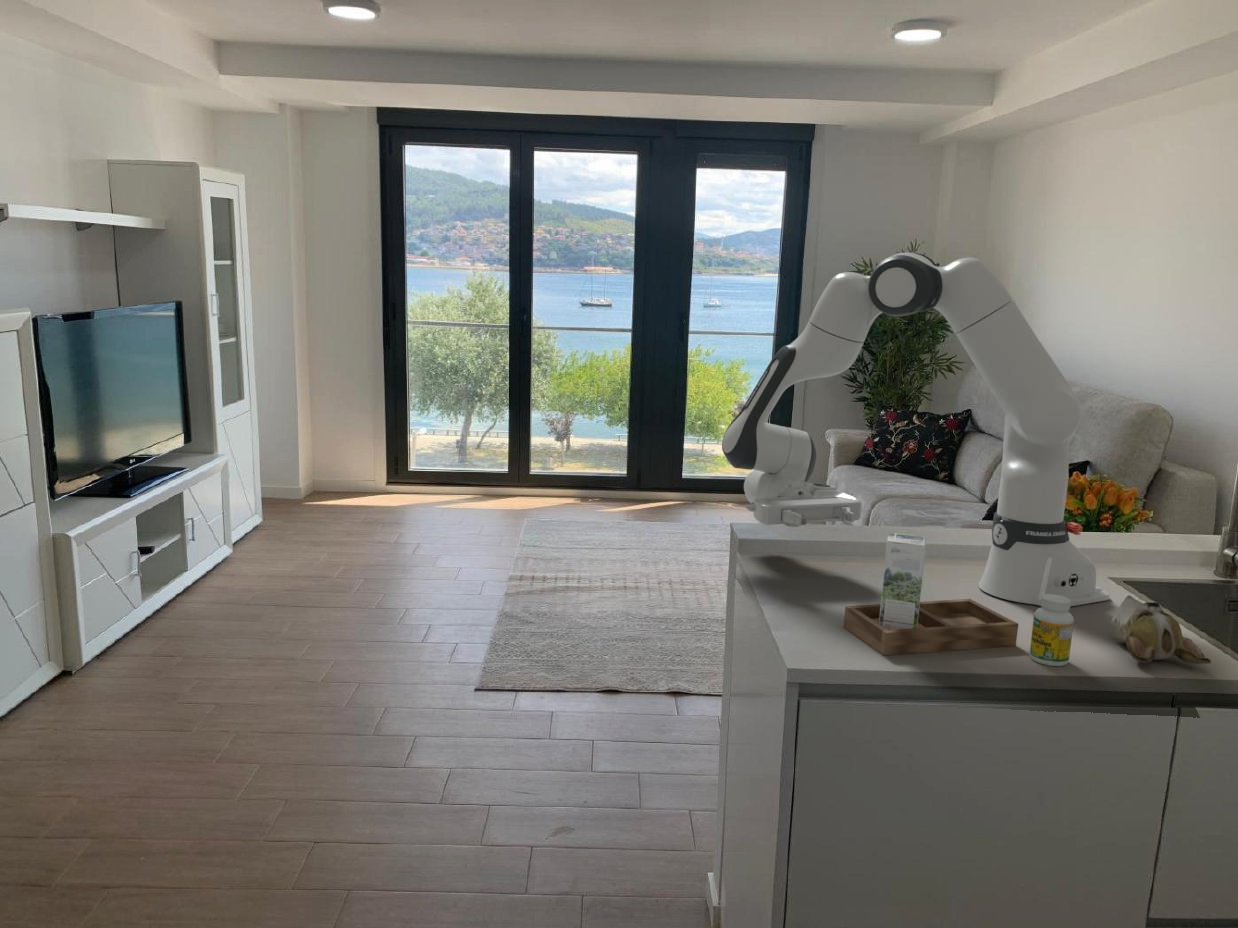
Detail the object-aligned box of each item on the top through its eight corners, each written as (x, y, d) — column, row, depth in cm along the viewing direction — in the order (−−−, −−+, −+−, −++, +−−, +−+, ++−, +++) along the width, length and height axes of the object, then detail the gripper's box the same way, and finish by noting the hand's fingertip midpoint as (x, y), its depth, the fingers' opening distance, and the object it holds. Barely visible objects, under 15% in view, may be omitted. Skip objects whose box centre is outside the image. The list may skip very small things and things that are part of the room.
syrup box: (917, 624, 150) (926, 534, 147) (916, 636, 144) (926, 544, 141) (879, 619, 151) (888, 530, 149) (877, 631, 146) (886, 539, 143)
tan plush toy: (1163, 586, 151) (1223, 624, 136) (1154, 637, 153) (1212, 680, 138) (1096, 584, 151) (1149, 623, 136) (1088, 635, 153) (1139, 678, 138)
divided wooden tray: (967, 618, 158) (970, 598, 158) (1015, 645, 147) (1018, 623, 146) (843, 626, 152) (845, 606, 151) (883, 655, 141) (885, 632, 140)
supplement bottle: (1076, 664, 140) (1085, 602, 138) (1049, 668, 138) (1057, 605, 136) (1047, 651, 145) (1055, 590, 143) (1020, 655, 143) (1028, 594, 141)
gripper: (742, 488, 180) (774, 504, 167) (840, 484, 185) (878, 499, 172) (741, 521, 181) (772, 539, 168) (838, 516, 186) (875, 533, 173)
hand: (826, 519), depth 170 cm, fingers open, 8 cm apart
